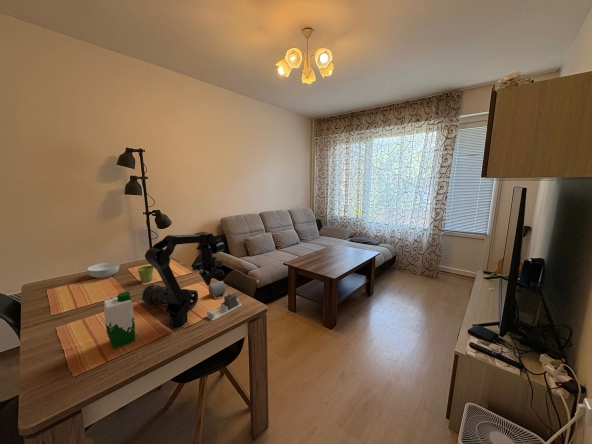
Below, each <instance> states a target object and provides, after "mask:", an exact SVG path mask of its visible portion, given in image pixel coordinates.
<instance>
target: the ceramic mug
mask: <svg viewBox="0 0 592 444" xmlns="http://www.w3.org/2000/svg"><path fill="white" fill-rule="evenodd" d="M207 287H208V289H207V290H208V293H209V296H210V297H213V298H214V299H215V300H221V299H223V298H224V296H225V294H226V285H225V282H224V281H223V280H221V281H217V282H213V283H210V285H209V286H207ZM217 296H221V297H217Z"/></svg>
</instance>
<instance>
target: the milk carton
mask: <svg viewBox="0 0 592 444" xmlns="http://www.w3.org/2000/svg"><path fill="white" fill-rule="evenodd" d="M103 308H104V312H103V314H104V321H105V329H106V334H107V337H108V339H109V342H110V344H111V347H112V350H115V349H118V348H120V347H123V346H125V345H128V344H130V343H133V342H135V341H136V324H135V323H136V322H135V316H134V308H133V301H132V297H131V292H130V291H124V292H120V293H118V294H117V297H116V296H114V297H112V298H110V299H106V300H104V307H103Z"/></svg>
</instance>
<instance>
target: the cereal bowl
mask: <svg viewBox="0 0 592 444" xmlns="http://www.w3.org/2000/svg"><path fill="white" fill-rule="evenodd" d="M119 269H120V264H119V263H118V262H111V261H110V262H104V263H97V264H94V265H91V266H88V267H87V270H86V271H87V274H88V275H89V276H90V277H92V278H98V279H106V278H109V277H111V276H112V275H114V274H117V272H118V271H120V270H119Z"/></svg>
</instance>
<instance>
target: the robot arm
mask: <svg viewBox="0 0 592 444" xmlns="http://www.w3.org/2000/svg"><path fill="white" fill-rule="evenodd" d="M187 244H199V245H198V246H197V247H196V248H195V249H196V250H197V251H200V254H199V255H200V258H199V259H198V261H199V262H196V263H194V264H193V265H192V267H191V269H192V271H195V272H196V271H197V270H198V269H199V272H198V274H199V275H200V277H201V279H203V281H204V283H205V285H206V286H207V287H209V285H211V282H212V279H216V278H219V277H221V276H223V275H224V270H223V269H220V268H222V267H223V264H224V261H223V260H221V259H217V257H216V256H213V255H216V254H219V253H221V252H224V251H225V249H226V245H225V243H224V242H223V240H222V239H220V238H218V239H216V238H215V236H214V233H212V232H206V231H200V232H195V233H193V234H179V235H178V234H177V235H173V234H172V235H171V234H168V235H166V236H165V237H164V238H162V239H161V240H159V241H158V242H156V243H154V245H153V246H151V247H150V248H148V249H147V250H146V252H145V254H144V258H145V260H146V261H147V262H148V264H149V265H150V266H153V267H154V268H153V269H155V270H156V271H157V273H158V274H159V277H160V278H161V281H162V282H163V284H164V285H165V286H164V287H166V288H167V290H168V292H169V294H170V296H169V301H170V303H169V305H166V308H165V310H164V311H165V312H166V313H167V314H168V321H169V327H170V328H172V329H173V330H174V329H176V328H177V329H178V328H182V327H183V326H185V324H186V323H188V321H189V320H188V313H189V310H190V308H189V307H190V303H191V302H192V300H191V299H190V298H191V297H190V296H189V293H188V291H185V290H182V289H183V288H181V286H180V285H179V283H178V280H177V278H176V277H175V275H174V272H173V270H172V268H171V266H170V264H171V258H170V256H172V254H173V253H174V251H175V248H176V246H177V245H187ZM218 267H219V268H218Z"/></svg>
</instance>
